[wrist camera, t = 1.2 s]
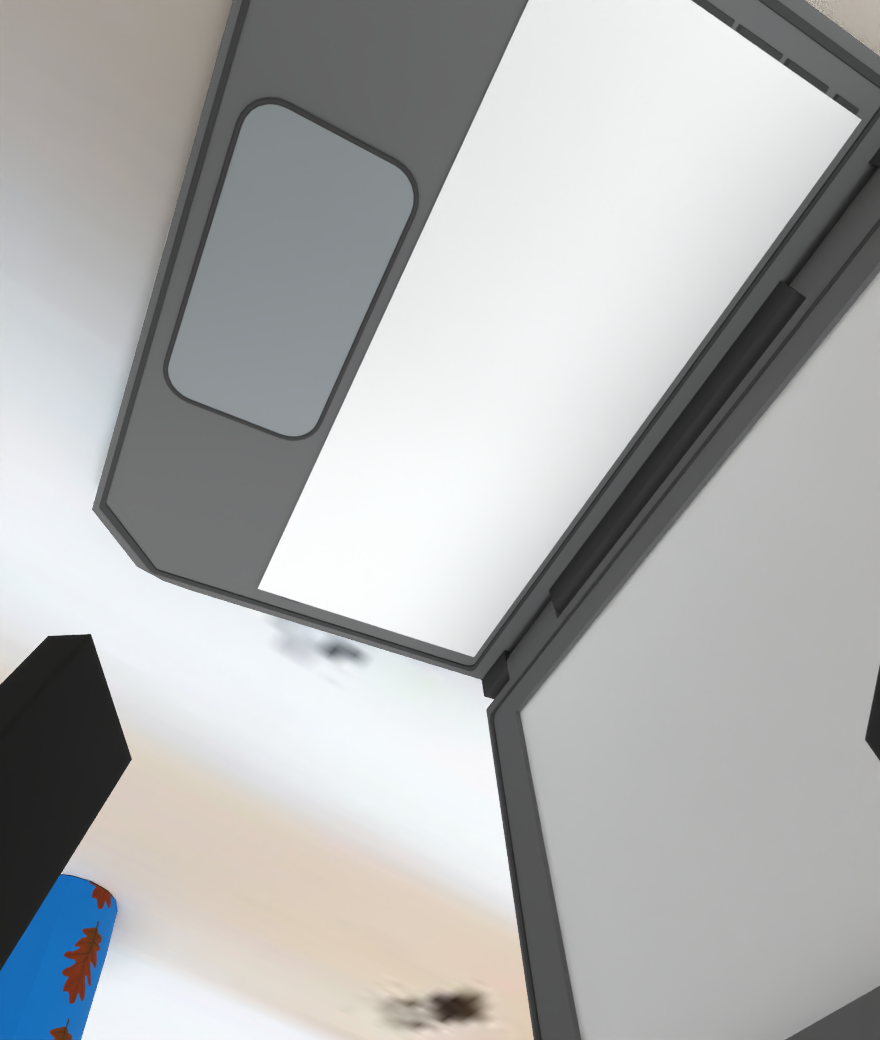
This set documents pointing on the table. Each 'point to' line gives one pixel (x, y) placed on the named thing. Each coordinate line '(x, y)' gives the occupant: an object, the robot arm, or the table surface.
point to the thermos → (57, 964)
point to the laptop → (561, 452)
